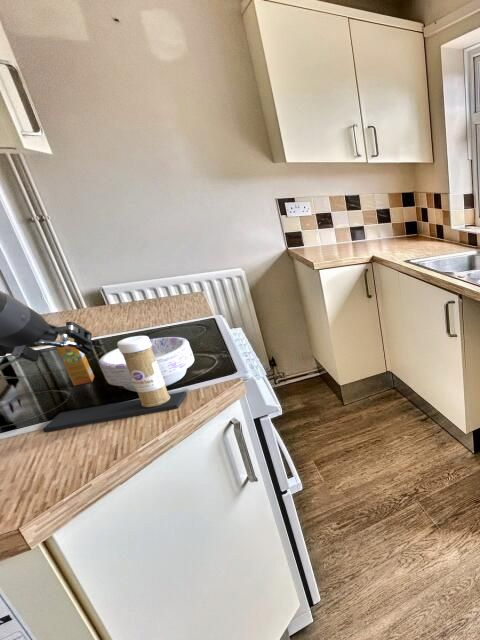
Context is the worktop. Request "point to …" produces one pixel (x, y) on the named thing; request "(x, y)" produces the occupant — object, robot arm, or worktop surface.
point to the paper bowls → (169, 357)
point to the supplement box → (75, 364)
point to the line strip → (109, 412)
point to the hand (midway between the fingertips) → (62, 353)
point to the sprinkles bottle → (144, 370)
